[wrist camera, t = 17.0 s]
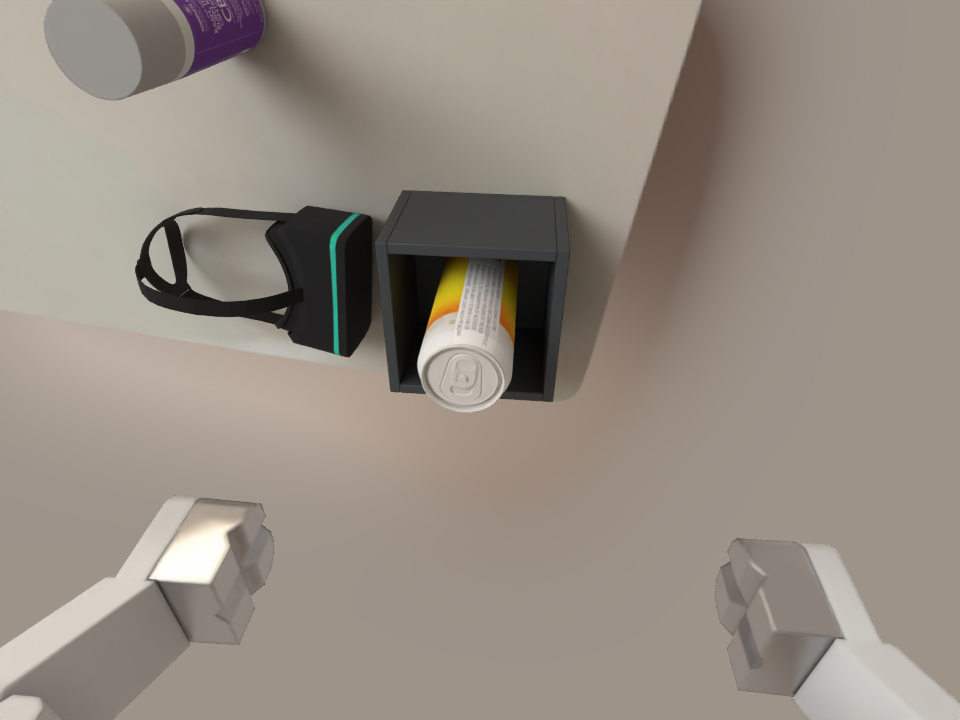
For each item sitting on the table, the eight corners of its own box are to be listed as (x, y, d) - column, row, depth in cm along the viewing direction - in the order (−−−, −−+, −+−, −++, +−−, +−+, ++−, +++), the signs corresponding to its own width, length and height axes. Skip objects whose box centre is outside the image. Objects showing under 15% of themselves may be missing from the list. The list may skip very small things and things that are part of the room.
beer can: (441, 293, 50) (410, 408, 38) (450, 228, 46) (418, 332, 34) (511, 305, 50) (502, 424, 38) (525, 241, 46) (520, 350, 34)
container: (278, 3, 38) (157, 36, 26) (251, 66, 41) (130, 123, 29) (210, -47, 37) (51, -37, 25) (187, 21, 39) (31, 61, 27)
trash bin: (564, 196, 44) (570, 251, 37) (551, 333, 52) (552, 402, 44) (402, 190, 45) (374, 242, 37) (411, 325, 52) (390, 392, 45)
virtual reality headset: (371, 326, 52) (325, 395, 44) (199, 288, 54) (125, 347, 46) (372, 211, 46) (318, 267, 38) (176, 171, 47) (84, 217, 39)
